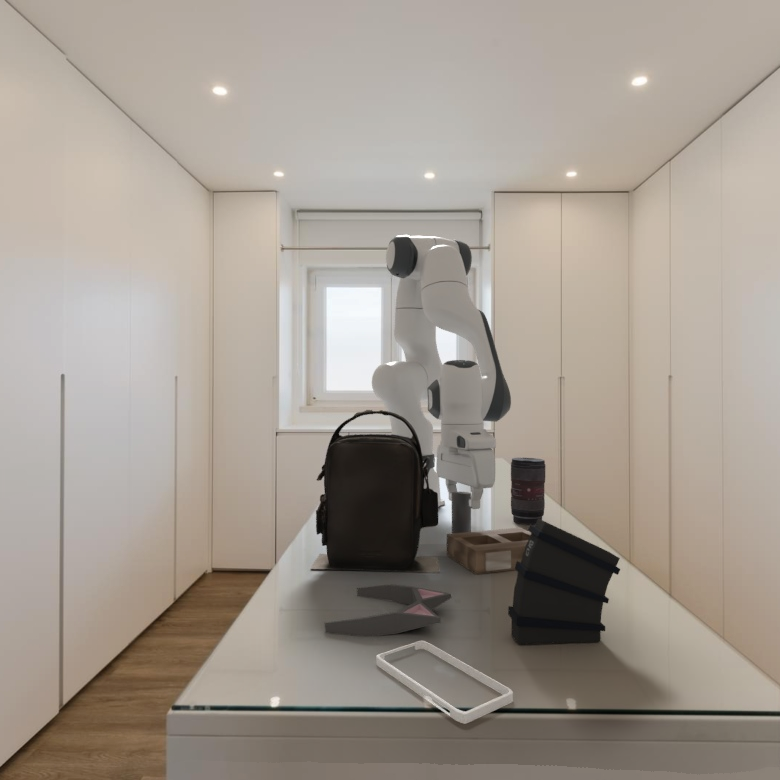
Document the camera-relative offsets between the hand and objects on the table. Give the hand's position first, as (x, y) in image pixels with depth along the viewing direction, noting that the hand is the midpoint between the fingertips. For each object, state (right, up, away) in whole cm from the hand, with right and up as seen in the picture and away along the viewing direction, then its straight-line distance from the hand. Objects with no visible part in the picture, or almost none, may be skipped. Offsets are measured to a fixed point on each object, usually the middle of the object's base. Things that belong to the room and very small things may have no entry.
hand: (463, 504), depth 118 cm
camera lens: (+18, -8, +18) cm, 27 cm away
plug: (-1, -8, +1) cm, 8 cm away
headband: (-15, -8, -39) cm, 43 cm away
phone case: (-10, -9, -56) cm, 57 cm away
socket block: (+5, -8, -12) cm, 15 cm away
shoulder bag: (-18, -8, -14) cm, 24 cm away
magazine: (+7, -8, -46) cm, 47 cm away
